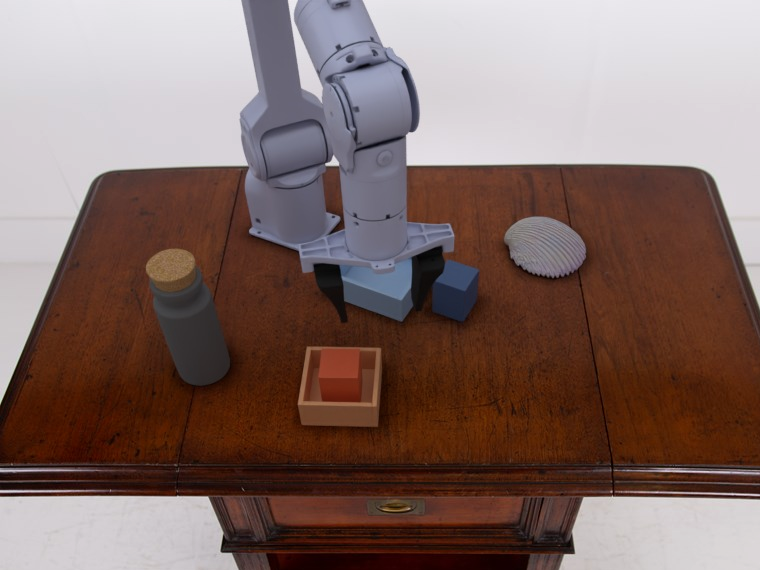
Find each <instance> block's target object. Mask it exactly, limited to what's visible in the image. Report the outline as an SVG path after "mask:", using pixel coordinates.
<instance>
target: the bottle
mask: <svg viewBox="0 0 760 570" xmlns="http://www.w3.org/2000/svg"><path fill="white" fill-rule="evenodd" d="M196 263H197V262H196V258H195V255H194V254H192V253H191V252H190V251H189V250H186V249H183V248H168V249H164V250H160V251H159V252H157V253H155V254H154V255H152V256H151V257H150V258H149V259H148V261H147V263H146V264H145V265H146V266H145V273H146V274H147V276H148V278H149V280H148V284H149V285H148V286H149V289H150V291H151V294H152V295H153V299H152V306H153V310H154V313H155V315H156V318H157V321H158V323H159V326H160V330H161V332H162V334H163V336H164V340H165V342H166V344H167V347H168V350H169V353H170V355H171V359H172V360H173V364H174V366H175V368H176V370H177V373H178V375H179V377H180V378H181V379H182V380H183V381H184V382H185V383H187V384H188V385H193V386H199V387H202V386H209V385H212V384H215V383H217V382H219V381H220V380H221V379H223V378H224V377H225V376H226V375H227V373H228V372H229V370H230V367H231V358H230V354H229V350H228V346H227V342H226V340H225V339H226V338H225V336H224V333H223V329H222V325H221V322H220V319H219V314H218V311H217V308H216V306H215V302H214V298H213V296H212V295H213V294H212V291H211V290H210V288H209V287H208V285H207V284H206V283H204V278H203V274H202V271H201V269H200V268H199V267H198V266H197V265H196Z"/></svg>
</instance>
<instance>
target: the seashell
mask: <svg viewBox="0 0 760 570" xmlns="http://www.w3.org/2000/svg"><path fill="white" fill-rule="evenodd" d="M503 242H504V244H505V245H506V246H508V249H509V254H510V259H511V260H514V264H515V265H516V266H518V267H519V266H521V268H522V270H524V271H527V272H528V273H529V274H532V275H534V276H535V275H537V276H538V277H540V275H541V276H542V277H545V276H546V277H547V278H550V277H551V278H552V279H554V278H556V279H558V278H559V277H562V278H564V277H565V275H566V276H570V274H573V273H574V272H575V271H578V269H579V268H581V266H582V264H583V263H584V261H585V260H586V259H587V255H586V254H587V248H586V244H585V242H584V240H583V239H582V237H581V236H580V234H578V232H576V231H575V230H573V228H571V227H570V226H569V225H567V224H565V223H564V222H562V221H559V220H558V219H554V218H552V217H548V216H530V217H525V218H522V219H520V220H518V221H516V222H515V223H514V224H512V225H511V226H510V227H509V228H508V229H507V231H506V232H505V234H504V237H503Z"/></svg>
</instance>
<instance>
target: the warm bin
mask: <svg viewBox="0 0 760 570" xmlns="http://www.w3.org/2000/svg"><path fill="white" fill-rule="evenodd" d="M322 348H333V349H360V354H361V366H362V378H363V382H362V396H361V403H359V402H322V398H321V392H320V385H319V379H318V376H319V368H320V359H321V350H322ZM382 360H383V359H382V348H381V347H360V346H359V347H357V346H356V347H355V346H353V347H352V346H306V350H305V357H304V363H303V369H302V375H301V382H300V388H299V394H298V401H297V407H298V412H299V418H300V423H301V426H315V427H317V426H319V427H320V426H323V427H329V426H330V427H360V428H362V427H363V428H367V427H368V428H378V427H379V417H380V404H381V392H382V390H381V389H382V379H383V378H382V377H383V376H382V375H383V362H382Z"/></svg>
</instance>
